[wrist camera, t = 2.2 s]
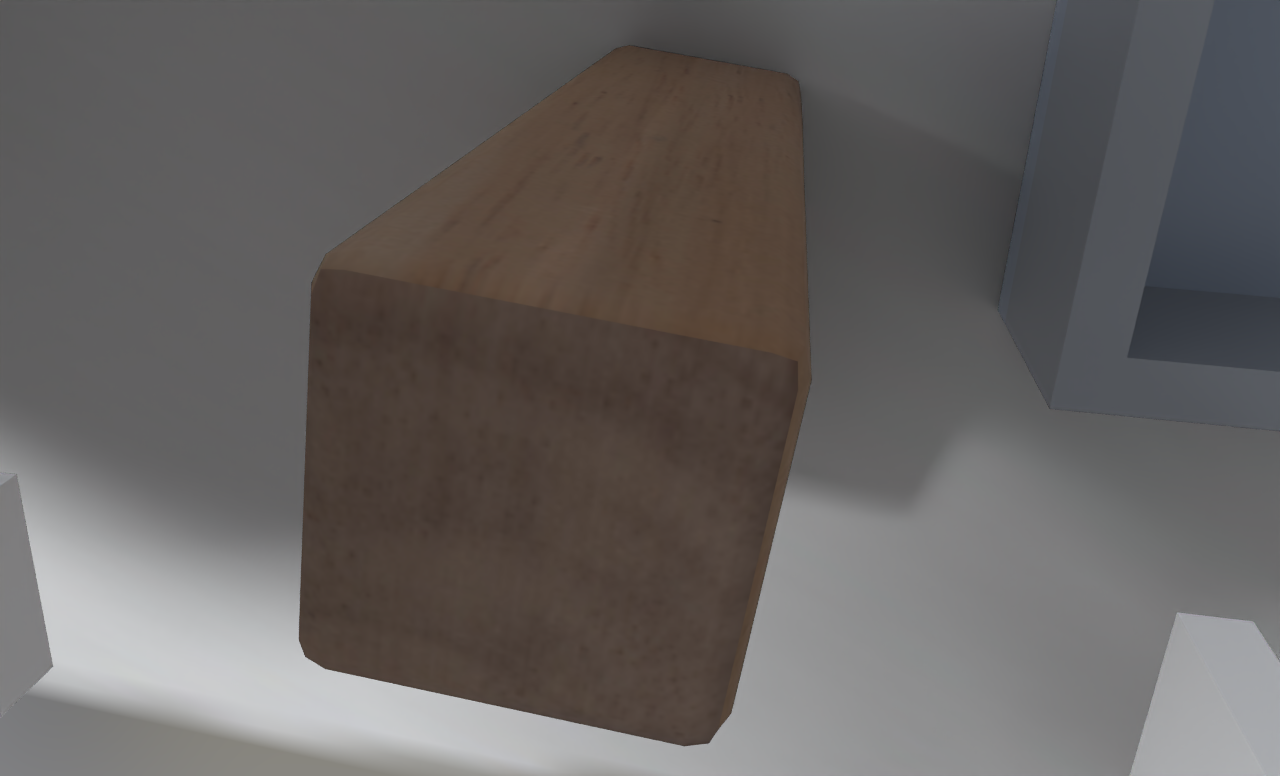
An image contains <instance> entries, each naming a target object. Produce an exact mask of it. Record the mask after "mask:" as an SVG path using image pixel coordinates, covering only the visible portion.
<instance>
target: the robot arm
mask: <svg viewBox="0 0 1280 776" xmlns="http://www.w3.org/2000/svg"><path fill="white" fill-rule="evenodd" d="M52 667H53V664H52V658H51V653H50V648H49V643H48V637H47V632H46V627H45V621H44V616H43V611H42V606H41V600H40V595H39V590H38V585H37V579H36V574H35V569H34V563H33V558H32V553H31V548H30V542H29V537H28V532H27V526H26V521H25V516H24V511H23V505H22V500H21V495H20V489H19V484H18V479H17V474H9V473H0V718H1V717H2V716H3V715H4V714H5V713H6V712H7V711H8V710H9V709H10V708H11V707H12V706H13V705H14V704H15V703H16V702H17V701H18V700H19V699H20V698H21V697H22V696H23V695H24V694H25V693H26V692H27V691H29V690H30V689H31V688H32V687H33V686H34V685H35V684H36V683H37V682H38V681H39V680H40V679H41V678H42V677H43V676H44V675H45V674H46V673H47V672H48V671H49V670H50V669H51V668H52ZM1130 776H1280V662H1279V660H1278V658H1277V657H1276V655H1275V654H1274V652H1273V651H1272V649H1271V648H1270V646H1269V645H1268V643H1267V642H1266V640H1265V638H1264V637H1263V635H1262V634H1261V632H1260V631H1259V629H1258V628H1257V626H1256V625H1255V623H1254V622H1253V621H1246V620H1238V619H1229V618H1221V617H1212V616H1204V615H1196V614H1187V613H1179V612H1177V614H1176V617H1175V621H1174V624H1173V628H1172V631H1171V635H1170V638H1169V642H1168V645H1167V648H1166V652H1165V655H1164V659H1163V662H1162V666H1161V669H1160V673H1159V676H1158V679H1157V683H1156V686H1155V690H1154V693H1153V697H1152V700H1151V704H1150V707H1149V711H1148V714H1147V717H1146V721H1145V724H1144V728H1143V731H1142V735H1141V738H1140V742H1139V745H1138V748H1137V752H1136V755H1135V759H1134V762H1133V766H1132V769H1131V773H1130Z"/></svg>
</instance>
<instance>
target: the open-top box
mask: <svg viewBox="0 0 1280 776" xmlns="http://www.w3.org/2000/svg"><path fill="white" fill-rule="evenodd" d="M998 311H999V313H1000V315H1001V317H1002V319H1003V321H1004V323H1005V325H1006V327H1007V329H1008V330H1009V332H1010V334H1011V336H1012V338H1013V340H1014V342H1015V344H1016V346H1017V348H1018V350H1019V351H1020V353H1021V355H1022V357H1023V359H1024V361H1025V363H1026V365H1027V367H1028V369H1029V370H1030V372H1031V374H1032V376H1033V378H1034V380H1035V382H1036V384H1037V386H1038V388H1039V389H1040V391H1041V393H1042V395H1043V397H1044V399H1045V401H1046V403H1047V405H1048V407H1049V408H1050V409H1057V410H1067V411H1077V412H1088V413H1098V414H1108V415H1119V416H1129V417H1139V418H1149V419H1160V420H1170V421H1180V422H1191V423H1201V424H1211V425H1221V426H1232V427H1242V428H1252V429H1263V430H1273V431H1280V0H1057V2H1056V8H1055V13H1054V18H1053V23H1052V29H1051V34H1050V39H1049V44H1048V49H1047V55H1046V60H1045V65H1044V70H1043V76H1042V81H1041V86H1040V91H1039V96H1038V102H1037V107H1036V112H1035V117H1034V123H1033V128H1032V133H1031V138H1030V143H1029V149H1028V154H1027V159H1026V164H1025V170H1024V175H1023V180H1022V185H1021V190H1020V196H1019V201H1018V206H1017V211H1016V217H1015V222H1014V227H1013V232H1012V237H1011V243H1010V248H1009V253H1008V258H1007V264H1006V269H1005V274H1004V279H1003V284H1002V290H1001V295H1000V300H999V305H998Z"/></svg>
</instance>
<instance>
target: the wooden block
mask: <svg viewBox="0 0 1280 776" xmlns="http://www.w3.org/2000/svg"><path fill="white" fill-rule="evenodd" d="M811 380H812V379H811V352H810V325H809V298H808V271H807V244H806V217H805V190H804V157H803V120H802V103H801V92H800V87H799V81H797V80H796V79H794V78H793V77H791V76H790V75H788V74H786V73H780V72H775V71H769V70H764V69H758V68H752V67H747V66H741V65H736V64H730V63H725V62H719V61H713V60H708V59H702V58H697V57H691V56H686V55H680V54H674V53H669V52H663V51H658V50H652V49H646V48H641V47H635V46H630V45H628V46H624V47H620V48H616V49H614V50H613V51H612V52H610V53H609V54H607V55H606V56H605V57H603V58H602V59H600V60H599V61H597V62H596V63H595V64H593V65H592V66H590V67H589V68H588V69H586V70H585V71H583V72H582V73H580V74H579V75H578V76H576V77H575V78H573V79H572V80H571V81H569V82H568V83H566V84H565V85H564V86H562V87H561V88H559V89H558V90H557V91H555V92H554V93H552V94H551V95H550V96H548V97H547V98H545V99H544V100H543V101H541V102H540V103H538V104H537V105H536V106H534V107H533V108H531V109H530V110H528V111H527V112H526V113H524V114H523V115H521V116H520V117H519V118H517V119H516V120H514V121H513V122H512V123H510V124H509V125H507V126H506V127H504V128H503V129H502V130H500V131H499V132H497V133H496V134H495V135H493V136H492V137H490V138H489V139H488V140H486V141H485V142H483V143H482V144H481V145H479V146H478V147H476V148H475V149H473V150H472V151H471V152H469V153H468V154H466V155H465V156H464V157H462V158H461V159H459V160H458V161H457V162H455V163H454V164H452V165H451V166H450V167H448V168H447V169H445V170H444V171H442V172H441V173H440V174H438V175H437V176H435V177H434V178H433V179H431V180H430V181H428V182H427V183H426V184H424V185H423V186H421V187H420V188H419V189H417V190H416V191H414V192H413V193H411V194H410V195H409V196H407V197H406V198H404V199H403V200H402V201H400V202H399V203H397V204H396V205H395V206H393V207H392V208H390V209H389V210H387V211H386V212H385V213H383V214H382V215H380V216H379V217H378V218H376V219H375V220H373V221H372V222H371V223H369V224H368V225H366V226H365V227H364V228H362V229H361V230H359V231H358V232H356V233H355V234H354V235H352V236H351V237H349V238H348V239H347V240H345V241H344V242H342V243H341V244H340V245H338V246H337V247H335V248H334V249H333V250H331V251H330V252H328V253H327V254H326V255H325V257H324V259H323V261H322V263H321V265H320V266H319V268H318V270H317V272H316V274H315V276H314V278H313V280H312V282H311V310H310V337H309V365H308V393H307V421H306V449H305V477H304V504H303V532H302V560H301V588H300V616H299V642H300V644H301V647H302V649H303V652H304V655H305V657H307V658H308V659H310V660H312V661H313V662H315V663H316V664H318V665H320V666H321V667H323V668H325V669H328V670H333V671H338V672H342V673H347V674H352V675H356V676H361V677H365V678H370V679H375V680H379V681H384V682H389V683H393V684H398V685H403V686H407V687H412V688H417V689H421V690H426V691H431V692H435V693H440V694H444V695H449V696H454V697H458V698H463V699H468V700H472V701H477V702H482V703H486V704H491V705H496V706H500V707H505V708H510V709H514V710H519V711H523V712H528V713H533V714H537V715H542V716H547V717H551V718H556V719H561V720H565V721H570V722H575V723H579V724H584V725H589V726H593V727H598V728H603V729H607V730H612V731H616V732H621V733H626V734H630V735H635V736H640V737H644V738H649V739H654V740H658V741H663V742H668V743H672V744H677V745H682V746H690V745H699V744H708V743H709V742H710V741H711V739H712V738H713V736H714V735H715V733H716V732H717V730H718V729H719V728H720V727H721V725H722V724H723V723H724V722H725V720H726V719H727V718H728V717H729V715H730V714H731V712H732V708H733V704H734V700H735V696H736V692H737V688H738V683H739V679H740V675H741V671H742V667H743V663H744V658H745V654H746V650H747V646H748V642H749V638H750V634H751V629H752V625H753V621H754V617H755V613H756V609H757V604H758V600H759V596H760V592H761V588H762V584H763V580H764V575H765V571H766V567H767V563H768V559H769V555H770V550H771V546H772V542H773V538H774V534H775V530H776V525H777V521H778V517H779V513H780V509H781V505H782V501H783V496H784V492H785V488H786V484H787V480H788V476H789V471H790V467H791V463H792V459H793V455H794V451H795V447H796V442H797V438H798V434H799V430H800V426H801V422H802V417H803V413H804V409H805V405H806V401H807V397H808V393H809V388H810V384H811Z"/></svg>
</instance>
